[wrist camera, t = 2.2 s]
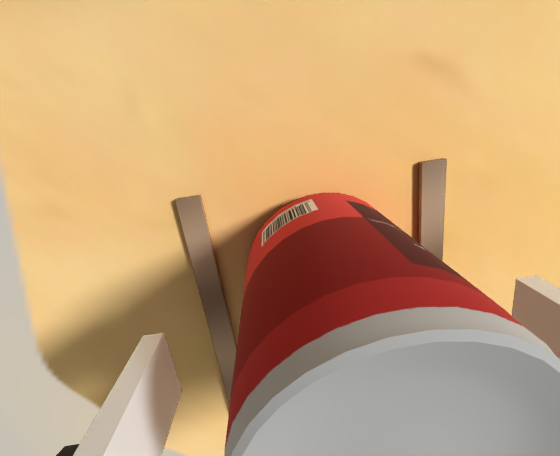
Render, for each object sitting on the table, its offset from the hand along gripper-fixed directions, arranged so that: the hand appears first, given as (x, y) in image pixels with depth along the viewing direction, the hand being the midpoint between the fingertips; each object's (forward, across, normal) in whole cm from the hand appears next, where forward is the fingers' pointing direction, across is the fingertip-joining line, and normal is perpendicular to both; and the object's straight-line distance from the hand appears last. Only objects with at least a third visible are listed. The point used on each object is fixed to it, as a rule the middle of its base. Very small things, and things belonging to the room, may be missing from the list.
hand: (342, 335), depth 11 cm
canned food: (+6, 0, +1) cm, 6 cm away
